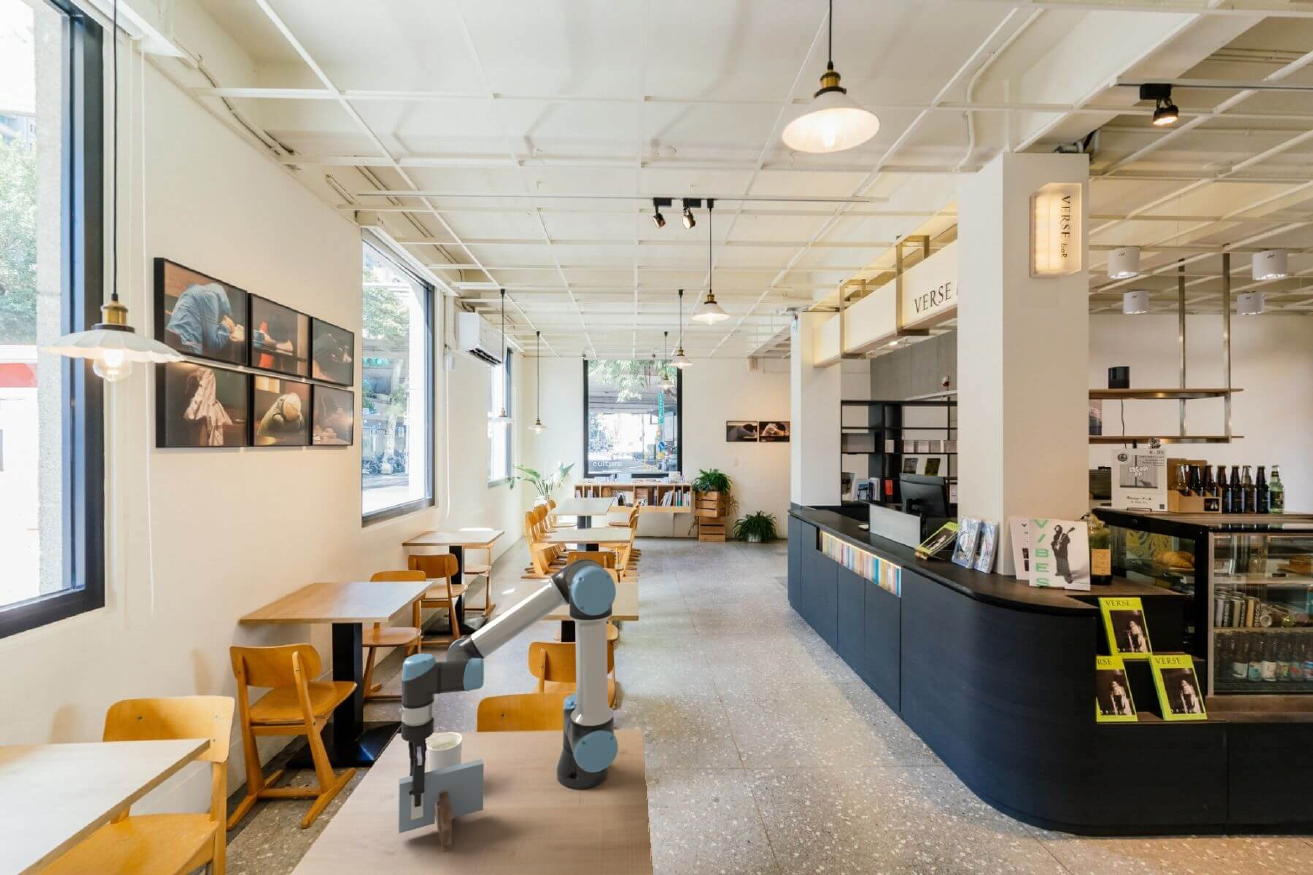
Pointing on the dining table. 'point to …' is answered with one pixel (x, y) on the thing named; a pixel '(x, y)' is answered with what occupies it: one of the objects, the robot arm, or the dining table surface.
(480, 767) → the slate plate
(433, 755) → the candle holder
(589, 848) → the dining table surface
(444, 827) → the walnut rail
